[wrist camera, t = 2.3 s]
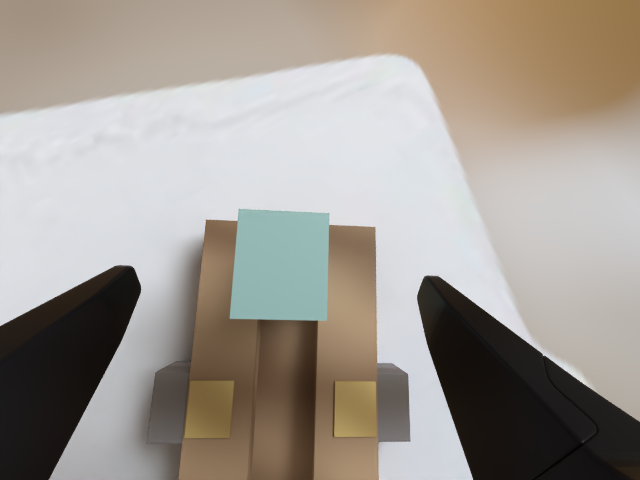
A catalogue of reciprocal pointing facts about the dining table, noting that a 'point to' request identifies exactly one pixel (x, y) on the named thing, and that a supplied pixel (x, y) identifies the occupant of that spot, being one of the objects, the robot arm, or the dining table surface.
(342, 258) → the slotted wooden block
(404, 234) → the dining table surface
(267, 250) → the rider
